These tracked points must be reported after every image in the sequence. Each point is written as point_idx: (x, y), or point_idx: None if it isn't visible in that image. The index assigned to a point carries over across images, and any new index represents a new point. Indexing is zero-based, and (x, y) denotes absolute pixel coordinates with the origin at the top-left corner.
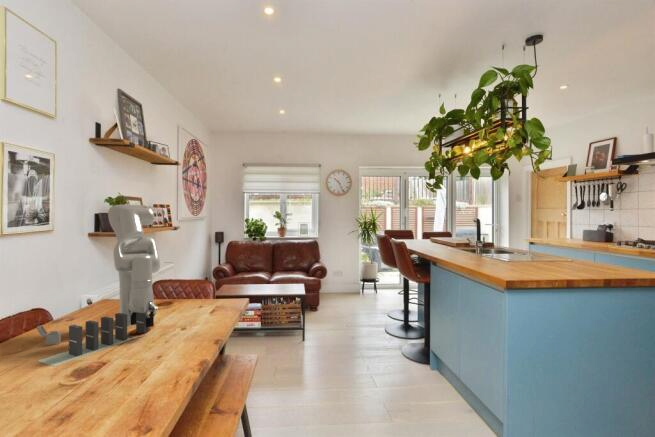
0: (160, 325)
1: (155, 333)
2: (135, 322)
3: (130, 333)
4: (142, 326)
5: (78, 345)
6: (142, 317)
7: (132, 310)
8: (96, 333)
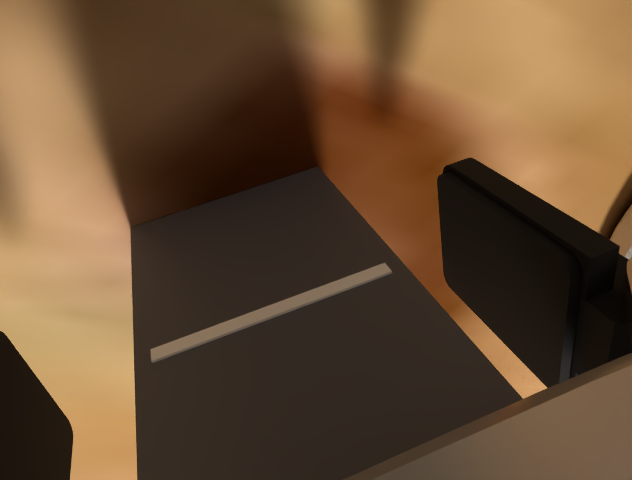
0: None
1: (73, 356)
2: (453, 246)
3: (373, 100)
4: (183, 287)
5: None
6: (217, 439)
7: (625, 424)
8: None
